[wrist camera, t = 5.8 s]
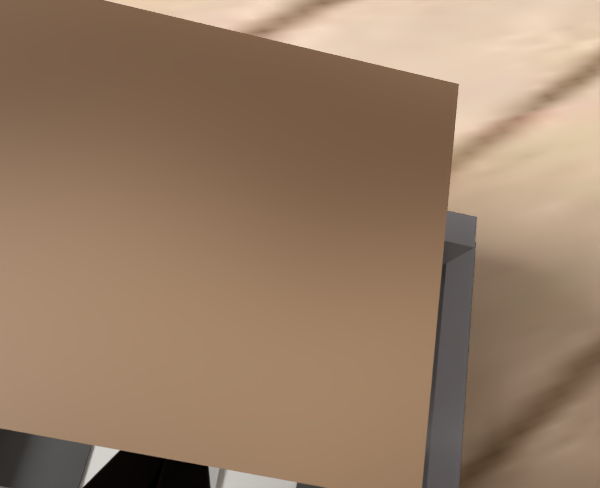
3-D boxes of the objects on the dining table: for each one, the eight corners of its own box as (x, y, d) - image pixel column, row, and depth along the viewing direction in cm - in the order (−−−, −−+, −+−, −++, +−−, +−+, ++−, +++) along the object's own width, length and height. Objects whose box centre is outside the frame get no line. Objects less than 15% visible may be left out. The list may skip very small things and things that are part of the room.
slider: (298, 412, 15) (420, 504, 4) (120, 378, 15) (-212, 390, 4) (323, 269, 16) (458, 83, 6) (162, 236, 16) (-1, -24, 6)
